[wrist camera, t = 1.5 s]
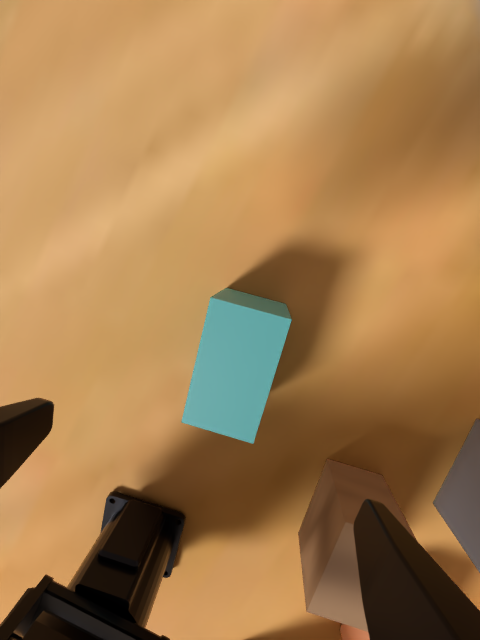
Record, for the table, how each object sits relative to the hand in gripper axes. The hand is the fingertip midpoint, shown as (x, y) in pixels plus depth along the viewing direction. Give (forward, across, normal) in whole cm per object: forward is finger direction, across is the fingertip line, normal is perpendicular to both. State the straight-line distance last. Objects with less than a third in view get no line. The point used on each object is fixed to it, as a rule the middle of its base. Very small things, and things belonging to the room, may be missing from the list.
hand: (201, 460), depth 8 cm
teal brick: (+11, 0, 0) cm, 11 cm away
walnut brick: (+11, -10, +10) cm, 18 cm away
